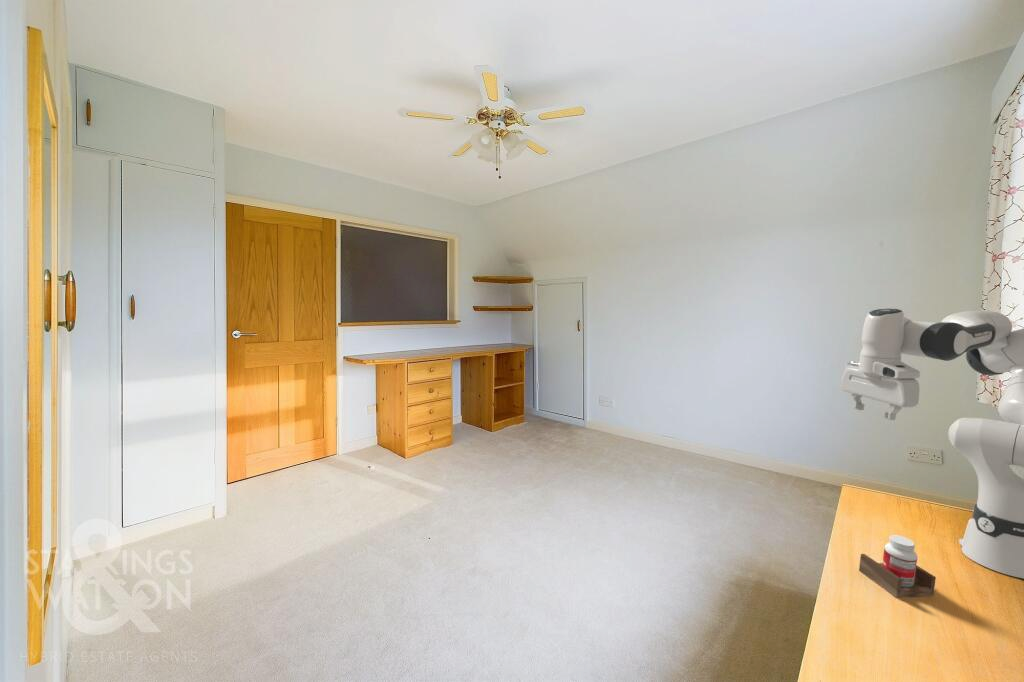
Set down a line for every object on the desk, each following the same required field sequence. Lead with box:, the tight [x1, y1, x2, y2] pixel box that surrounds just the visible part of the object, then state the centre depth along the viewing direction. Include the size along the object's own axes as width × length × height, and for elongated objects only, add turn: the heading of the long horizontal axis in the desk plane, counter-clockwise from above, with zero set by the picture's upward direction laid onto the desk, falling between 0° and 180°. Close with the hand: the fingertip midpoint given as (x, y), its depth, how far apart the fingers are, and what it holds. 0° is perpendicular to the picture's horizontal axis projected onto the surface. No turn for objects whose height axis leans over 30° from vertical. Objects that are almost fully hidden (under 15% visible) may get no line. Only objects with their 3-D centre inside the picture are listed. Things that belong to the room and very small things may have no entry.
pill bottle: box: [881, 534, 918, 588], centre depth 107 cm, size 6×6×11 cm
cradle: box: [858, 553, 937, 599], centre depth 108 cm, size 10×10×5 cm
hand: (873, 414), depth 121 cm, fingers open, 8 cm apart
